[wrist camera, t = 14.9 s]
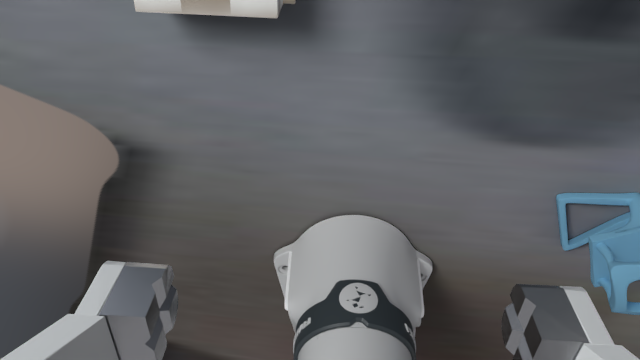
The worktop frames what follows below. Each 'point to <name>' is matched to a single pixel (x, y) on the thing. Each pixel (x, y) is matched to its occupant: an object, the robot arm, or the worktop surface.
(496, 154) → the worktop surface
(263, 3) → the board
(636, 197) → the chair
